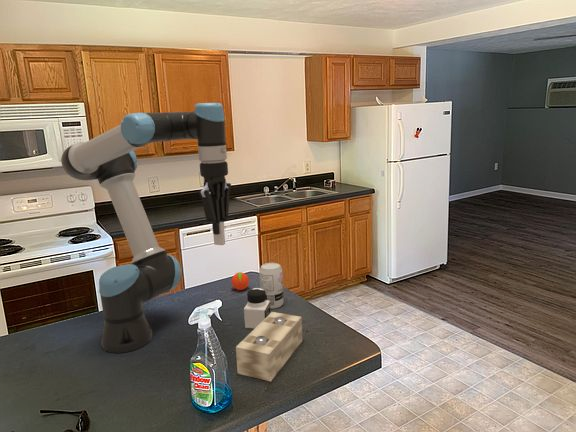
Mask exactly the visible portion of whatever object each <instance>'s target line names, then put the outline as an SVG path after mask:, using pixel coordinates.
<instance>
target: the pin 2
mask: <svg viewBox="0 0 576 432" xmlns="http://www.w3.org/2000/svg"><path fill="white" fill-rule="evenodd" d="M284 323H285V318H284V317H276V318H275V324H278V325H284Z"/></svg>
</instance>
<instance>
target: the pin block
mask: <svg viewBox="0 0 576 432" xmlns="http://www.w3.org/2000/svg"><path fill="white" fill-rule="evenodd" d="M276 317H284V318H285V323H284V325H278V324H275V318H276ZM258 336H265V337H266V339H267V343H266V344H265V345H264V346H263V345H258V344H256V341H255V338H256V337H258ZM302 342H303V317H302V316H298V315H292V314H287V313H281V312H277V311H276V312H275V311H270V314H269V315H268V316H267V317H266V318H265V319H264V320H263V321H262V322H261V323H260V324H259V325H258V326H257V327H256V328H255V329H252V330H251V332H250V333H249V334H247V335H246V337H244V339H242V340H241V341H240V342H239V343H238V344H237V345H236V346H235V355H236V356H235V357H236V368H237V369H236V370H237V374H238V375H241V376H246V377H251V378H255V379H259V380H262V381H267V382H272V380H273V379H274V378H275V377H276V375H277V374H278V373H279V372H280V370H281V369H282V368H283V367H284V365H285V364H286V363H287V361H288V360H289V359H290V357H292V355H294V353H295V352H296V350H297V348H299V346H300V345H301V344H302Z"/></svg>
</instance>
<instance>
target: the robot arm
mask: <svg viewBox="0 0 576 432" xmlns="http://www.w3.org/2000/svg"><path fill="white" fill-rule="evenodd" d="M225 121H226V118H225V112H224V107H223V104H222V103H220V102H202V103H196V104H195V105H194V111H172V112H171V111H167V112H163V111H162V112H141V111H140V112H139V111H138V112H134V113H128V114H126V115H124V116H123V119H122V120H121V122H120V124H118V125H117V126H115V127H113V128H111V129H108V130H107V131H105V132H103V133H101V134H100V135H97V136H96V137H93V138H91V139H90V140H88V141H85V142H84V141H79V142H76V143H74V144H71V145H70V146H68V147H66V149H64V150H63V153H62V155H61V159H60V163H61V165H62V168H63V170H64V171H65V173H66V174H67V175H68V176H69V177H72V178H73V179H75V180H79V181H93V180H97V182H98V184H99V186H100V187H101V188H102V189H105V190H106V191H107V193H108V195H109V198H110V200H111V203H112V205H113V206H112V207H113V208H114V210H115V213H116V215H117V219H118V220H119V223H120V225H121V228H122V231H123V233H124V235H125V238H126V240H127V243H128V245H129V248H130V250H131V253H132V255H133V258H132V260H131V262H130V263H128V264H122V265H116V266H114V267H112V268H109V269H107V270H106V271H104V272H103V273H102V274H101V276H100V277H99V280H98V286H99V287H98V288H99V289H98V293H99V296H100V302H101V307H102V314H103V321H104V323H103V327H102V328H103V329H102V335H101V337H100V341H101V342H100V343H101V348H102V350H104V351H106V352H108V353H115V354H116V353H117V354H119V353H120V354H121V353H127V352H131V351H135V350H137V349H140V348H142V347H145V345H147V344H148V343H150V342H151V341H152V338H153V329H152V327H151V325H150V322H149V321H148V319H147V317H146V315H145V312H144V303H146V302H148V301H150V300H152V299H154V298H157V297H159V296H161V295H164V294H167V293H168V292H170V291H172V290H174V289H175V288H177V287H178V285H179V284H180V281H181V278H182V269H181V265H180V262H179V261H178V259H177V258H176V257H175V256H174V255H172V254H168V253H167V251H166V249H165V248H162V247H161V246H160V245H159V243H158V240H157V237H156V235H155V233H154V231H153V228H152V226H151V223H150V221H149V218H148V215H147V213H146V210H145V209H144V206H143V204H142V201H141V198H140V196H139V193H138V191H137V188H136V186H135V183H134V179H135V178H136V173H135V172H136V170H137V167H138V164H137V163H138V160H137V159H138V157H137V155H136V152H134V151H135V150H138V149H140V148H142V147H145V146H147V145H149V144H152V143H160V142H169V141H180V140H181V141H182V140H197V148H198V149H197V153H198V161H199V162H200V163H199V173H200V174H199V175H200V176H201V177H203V188H202V189H199V190H198V195H199V198H200V199H201V202H202V207H203V211H204V216H205V220H206V222H207V223H209V224H210V223H211V224H212V225H211V227H212V234H213V242H214V243H213V244H214V246H215V245H216V246H224V245H226V238H225V222H228V217H229V211H230V210H229V208H230V194H231V193H230V192H231V188H232V184H231V183H229V182H227V179H226V176H228V175H229V167H228V162H227V159H228V157H227V155H228V153H227V151H228V150H227V145H226V144H227V142H226V122H225Z"/></svg>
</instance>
